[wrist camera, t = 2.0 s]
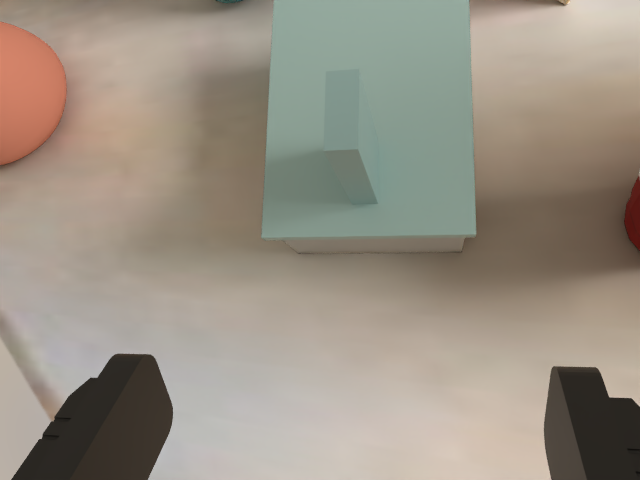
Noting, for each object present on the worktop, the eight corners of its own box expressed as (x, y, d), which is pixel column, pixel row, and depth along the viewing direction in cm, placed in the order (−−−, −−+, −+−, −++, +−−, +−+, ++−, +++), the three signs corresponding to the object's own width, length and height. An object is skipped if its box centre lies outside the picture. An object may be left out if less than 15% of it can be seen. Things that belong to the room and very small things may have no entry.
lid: (280, 13, 40) (227, -108, 30) (466, -6, 38) (478, -145, 28) (269, 243, 37) (204, 196, 27) (474, 240, 34) (490, 187, 24)
